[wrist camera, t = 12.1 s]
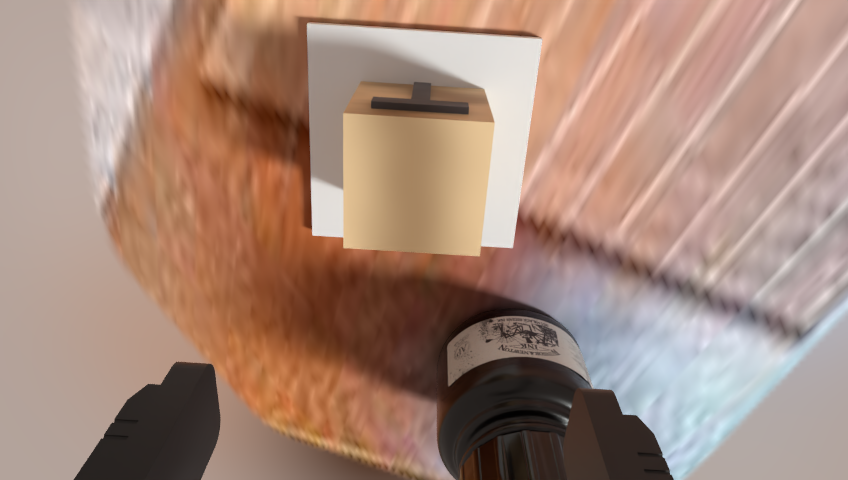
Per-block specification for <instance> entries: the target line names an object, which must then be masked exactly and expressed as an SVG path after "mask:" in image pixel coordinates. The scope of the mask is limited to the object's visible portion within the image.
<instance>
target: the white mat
mask: <svg viewBox="0 0 848 480" xmlns="http://www.w3.org/2000/svg"><path fill="white" fill-rule="evenodd" d="M541 46H542V38H541V37H529V36H514V35H499V34H484V33H468V32H453V31H438V30H423V29H408V28H393V27H378V26H362V25H347V24H332V23H317V22H309V23H307V49H308V88H309V127H310V165H311V204H312V235H314V236H330V237H343V113H344V111H345V109H346V107H347V105H348V104H349V102H350V100H351V98H352V96H353V94H354V93H355V91H356V89H357V87H358V85H359V84H360V82H361V81H365V82H381V83H397V84H412V85H414V82H424V83H431V86H444V87H460V88H476V89H485V93H486V96H487V99H488V102H489V106H490V109H491V112H492V115H493V118H494V122H495V125H494V134H493V143H492V152H491V161H490V170H489V179H488V187H487V196H486V205H485V214H484V223H483V232H482V241H481V246H488V247H504V248H513V242H514V235H515V228H516V221H517V214H518V207H519V200H520V193H521V186H522V179H523V172H524V165H525V158H526V151H527V144H528V137H529V130H530V123H531V116H532V109H533V102H534V95H535V88H536V81H537V74H538V67H539V60H540V53H541Z"/></svg>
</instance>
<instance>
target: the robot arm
mask: <svg viewBox="0 0 848 480" xmlns="http://www.w3.org/2000/svg"><path fill="white" fill-rule="evenodd" d="M219 430H220V410H219V402H218V394H217V387H216V377H215V370H214V367H213V365H212V364H204V363H187V362H176V363H175V364H174V365H173V366H172V367H171V369H170V371H169V372H168V374H167V375H166V377H165V379H164V380H163V382H162V384H161V385H155V384H148V385H146V386H145V387H144V388H142V389H141V390H140V391H138V392H137V393H136V394H135V395H133V396H132V397H131V398H130V399H128V400H127V402H126V403H125V405H124V406H123V407H122V409H121V410H120V412H119V413H118V415H117V416H116V418H115V422H114V423H112V424H111V425H110V427H109V428H108V430H107V431H106V433H105V434H104V438H103V439H101V440H100V441H99V443H98V445H97V446H96V447H95V449H94V451H93V452H92V453H91V455H90V456H89V458H88V459H87V461H86V462H85V464H84V465H83V467H82V468H81V470H80V471H79V473H78V474H77V476H76V477H75V479H74V480H201V478H202V475H203V473H204V471H205V469H206V466H207V464H208V462H209V460H210V457H211V455H212V453H213V450H214V448H215V446H216V443H217V440H218V435H219ZM563 458H564V467H565V472H566V476H567V480H674V479H673V477H672V475H670V470H669V468H668V465H667V463H666V461H665V459H664V458H663V457H662V452H661V449H660V447H659V445H658V442H657V440H656V438H655V435H654V434H653V432H652V431H651V430H650V429H649V428H648V427H647V426H646V425H645V424H644V423H643V422H642V421H641V420H640V419H639V418H638V416H636V415H623V414H622V412H621V409H620V407H619V404H618V401H617V399H616V396H615V394H614V392H613V391H612V390H603V389H587V388H577V389H576V391H575V393H574V397H573V402H572V406H571V411H570V415H569V420H568V424H567V429H566V433H565V438H564V446H563Z"/></svg>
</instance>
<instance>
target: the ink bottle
mask: <svg viewBox="0 0 848 480" xmlns="http://www.w3.org/2000/svg"><path fill="white" fill-rule="evenodd" d="M577 388H587V389H594V388H593V385H592V383H591V380H590V377H589V374H588V371H587V368H586V365H585V362H584V359H583V356H582V354H581V351H580V349H579V346H578V344H577V342H576V340H575V339H574V337H573V336H572V334H571V333H570V332H569V331H568V330H567V329H566V328H565V327H564V326H563V325H561V324H560V323H558V322H557V321H555V320H554V319H552V318H550V317H547V316H545V315H542V314H540V313H536V312H532V311H528V310H520V309H501V310H493V311H489V312H485V313H482V314H479V315H476V316H474V317H472V318H470V319H469V320H467V321H465V322H464V323H463V324H461V325H460V326H459V327H458V328H457V329H456V330H455V331H454V332H453V333H452V334H451V335H450V337H449V338H448V339H447V341H446V343H445V344H444V346H443V348H442V351H441V353H440V356H439V360H438V365H437V443H438V449H439V453H440V456H441V459H442V461H443V463H444V465H445V467H446V468H447V470H448V471H449V473H450V474H451V475H452V476H453V477H454V478H455V479H456V480H567V476H566V472H565V467H564V458H563V446H564V438H565V433H566V429H567V424H568V420H569V415H570V411H571V406H572V402H573V397H574V393H575V391H576V389H577Z"/></svg>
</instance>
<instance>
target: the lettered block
mask: <svg viewBox="0 0 848 480" xmlns="http://www.w3.org/2000/svg"><path fill="white" fill-rule="evenodd" d="M494 125H495V122H494V118H493V115H492V112H491V109H490V106H489V102H488V99H487V96H486V93H485V89H476V88H460V87H444V86H431V83H424V82H414V85H412V84H397V83H381V82H365V81H361V82H360V84H359V85H358V87H357V89H356V91H355V93H354V94H353V96H352V98H351V100H350V102H349V104H348V105H347V107H346V109H345V111H344V113H343V237H344V248H352V249H369V250H385V251H402V252H418V253H434V254H451V255H467V256H480V249H481V241H482V232H483V223H484V214H485V205H486V196H487V187H488V179H489V170H490V161H491V152H492V143H493V134H494Z"/></svg>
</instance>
